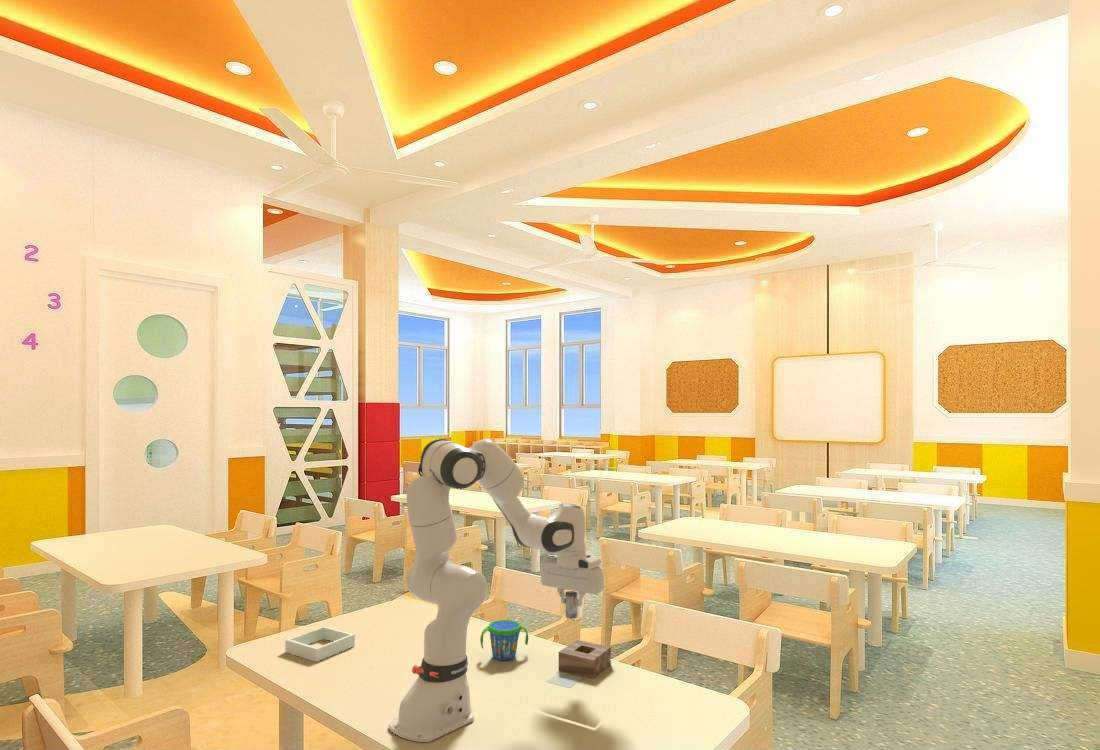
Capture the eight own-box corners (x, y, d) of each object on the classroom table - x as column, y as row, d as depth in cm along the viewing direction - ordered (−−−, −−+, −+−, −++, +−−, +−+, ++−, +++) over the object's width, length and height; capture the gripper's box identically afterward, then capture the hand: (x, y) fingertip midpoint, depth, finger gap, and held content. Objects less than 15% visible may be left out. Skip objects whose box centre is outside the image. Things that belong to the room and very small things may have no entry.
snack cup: (526, 649, 209) (526, 618, 210) (529, 662, 199) (530, 629, 200) (479, 651, 207) (480, 620, 208) (480, 664, 197) (480, 631, 197)
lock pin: (573, 619, 186) (573, 595, 186) (563, 617, 187) (563, 593, 188) (579, 615, 189) (579, 592, 189) (569, 613, 190) (569, 590, 191)
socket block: (593, 680, 185) (593, 660, 186) (558, 671, 192) (558, 651, 192) (610, 666, 196) (610, 647, 196) (577, 658, 202) (577, 639, 202)
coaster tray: (316, 662, 198) (316, 649, 198) (285, 652, 206) (285, 639, 206) (354, 646, 211) (354, 634, 212) (323, 637, 219) (324, 626, 220)
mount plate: (569, 690, 179) (569, 687, 179) (546, 683, 183) (546, 681, 183) (583, 679, 186) (583, 677, 186) (559, 673, 190) (559, 671, 190)
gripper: (536, 555, 191) (536, 601, 191) (596, 564, 181) (596, 613, 180) (547, 551, 197) (547, 596, 196) (605, 559, 186) (606, 606, 186)
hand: (571, 604), depth 188 cm, fingers closed on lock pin, 4 cm apart
